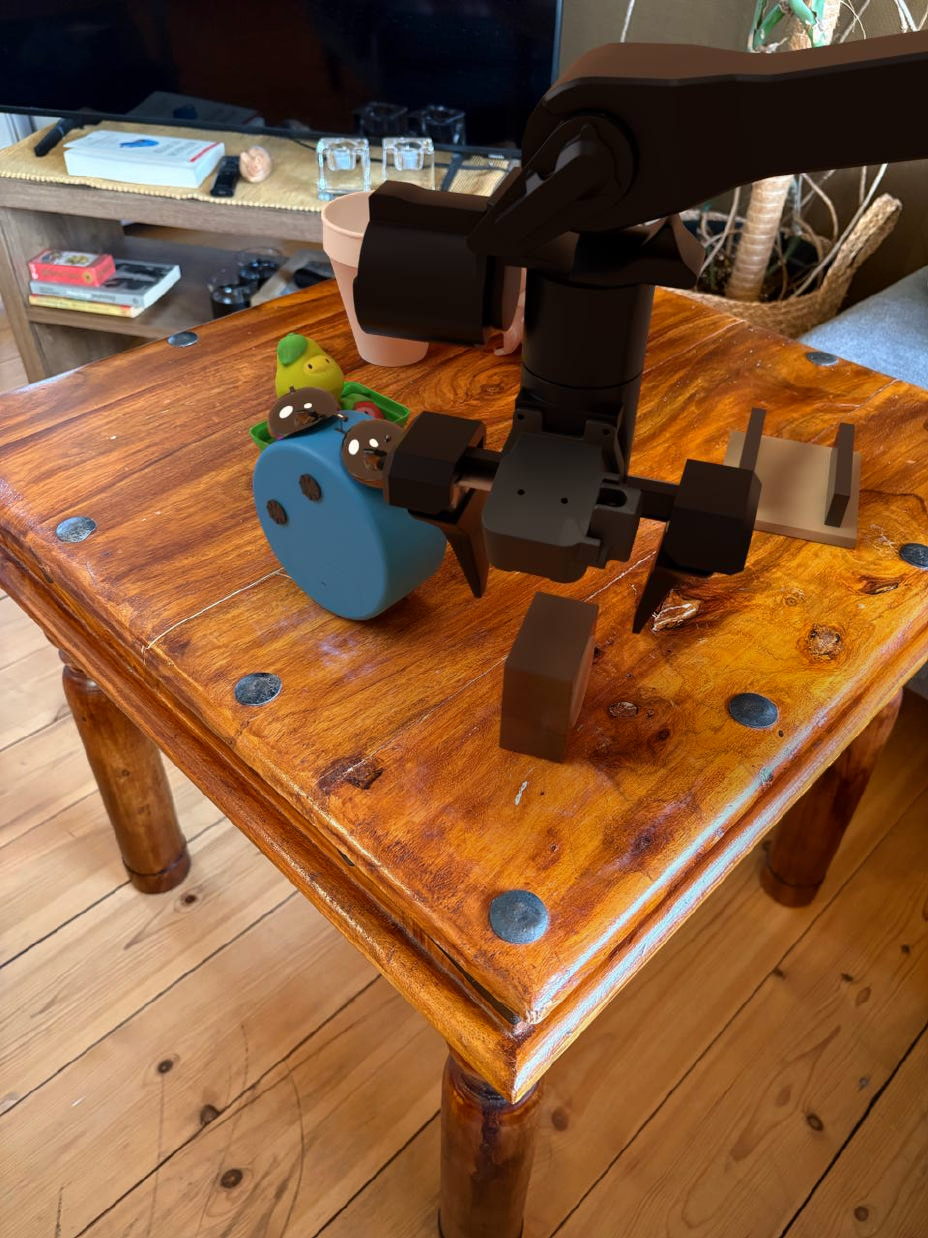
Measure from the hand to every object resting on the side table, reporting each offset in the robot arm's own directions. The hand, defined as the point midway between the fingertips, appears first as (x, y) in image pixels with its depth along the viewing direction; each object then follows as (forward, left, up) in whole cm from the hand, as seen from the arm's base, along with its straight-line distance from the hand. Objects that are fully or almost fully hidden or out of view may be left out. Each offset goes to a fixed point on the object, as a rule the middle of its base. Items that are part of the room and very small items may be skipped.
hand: (557, 611), depth 57 cm
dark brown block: (0, 0, -9) cm, 9 cm away
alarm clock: (+16, -7, -9) cm, 20 cm away
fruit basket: (+24, -21, -9) cm, 33 cm away
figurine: (+13, -49, -9) cm, 52 cm away
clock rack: (-12, -31, -9) cm, 34 cm away
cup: (+27, -43, -9) cm, 52 cm away
